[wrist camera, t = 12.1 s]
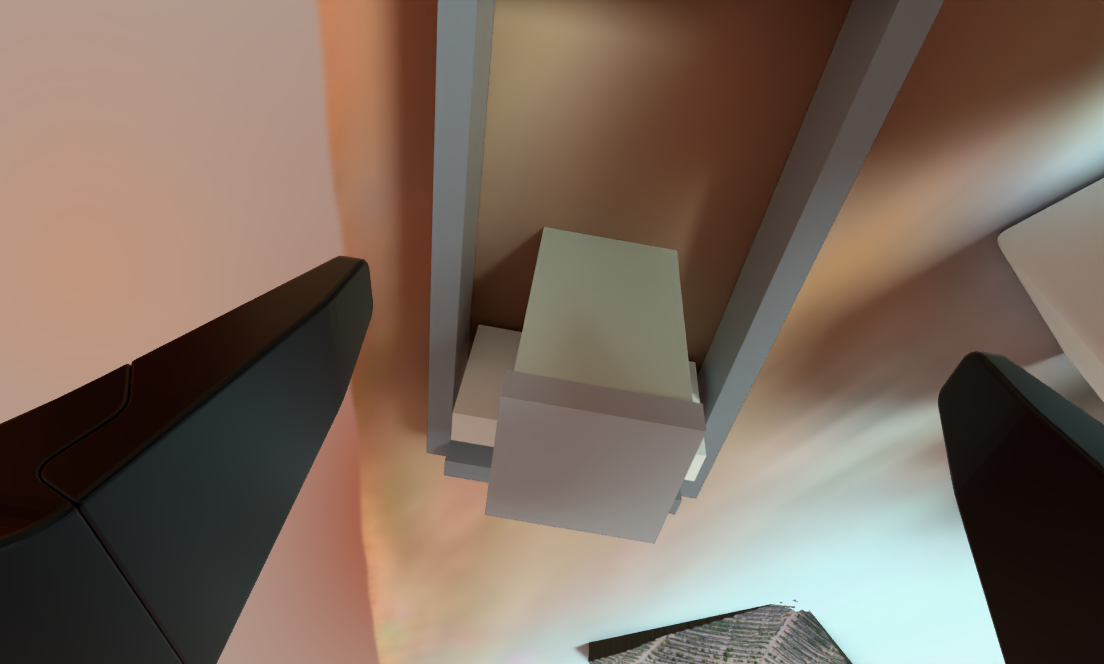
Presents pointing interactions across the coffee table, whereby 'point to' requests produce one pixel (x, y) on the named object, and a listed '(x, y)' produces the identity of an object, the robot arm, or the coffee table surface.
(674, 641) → the terrain model
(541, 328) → the sage jar
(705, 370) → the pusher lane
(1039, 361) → the coffee table surface
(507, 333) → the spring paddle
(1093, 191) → the medicine bottle
